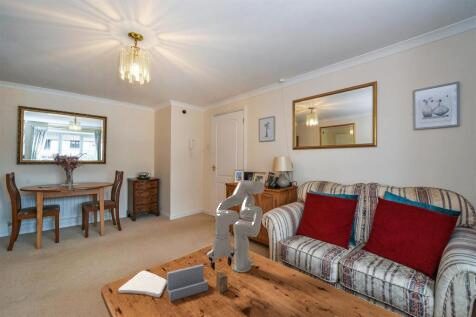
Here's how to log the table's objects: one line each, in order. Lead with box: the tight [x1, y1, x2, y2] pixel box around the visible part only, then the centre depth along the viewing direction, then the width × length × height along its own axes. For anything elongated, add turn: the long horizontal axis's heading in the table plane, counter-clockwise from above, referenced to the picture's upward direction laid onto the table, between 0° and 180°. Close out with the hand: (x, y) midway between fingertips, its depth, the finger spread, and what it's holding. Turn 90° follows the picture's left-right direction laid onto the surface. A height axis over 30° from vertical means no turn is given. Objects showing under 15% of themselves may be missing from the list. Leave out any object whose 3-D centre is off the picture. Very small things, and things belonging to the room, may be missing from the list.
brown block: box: [215, 271, 229, 294], centre depth 114 cm, size 4×6×8 cm
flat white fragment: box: [117, 269, 167, 298], centre depth 119 cm, size 21×4×25 cm
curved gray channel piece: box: [166, 264, 209, 302], centre depth 114 cm, size 20×10×10 cm, turn 118°
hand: (221, 267), depth 114 cm, fingers open, 9 cm apart
